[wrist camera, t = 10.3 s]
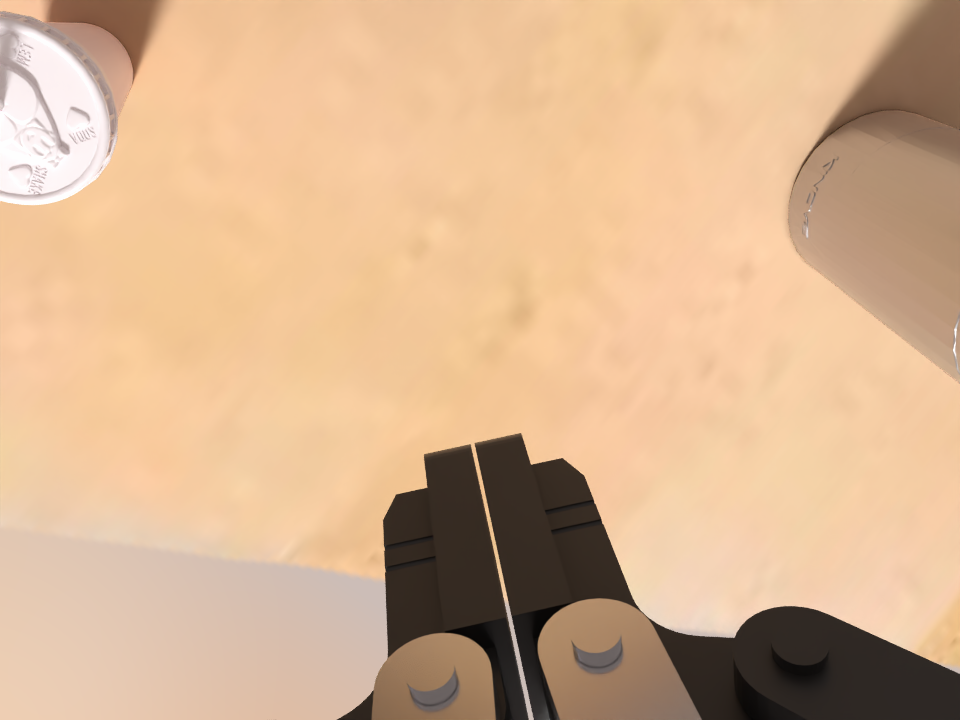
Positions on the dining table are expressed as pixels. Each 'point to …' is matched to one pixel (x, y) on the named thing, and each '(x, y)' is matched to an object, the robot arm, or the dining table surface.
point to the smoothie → (57, 106)
